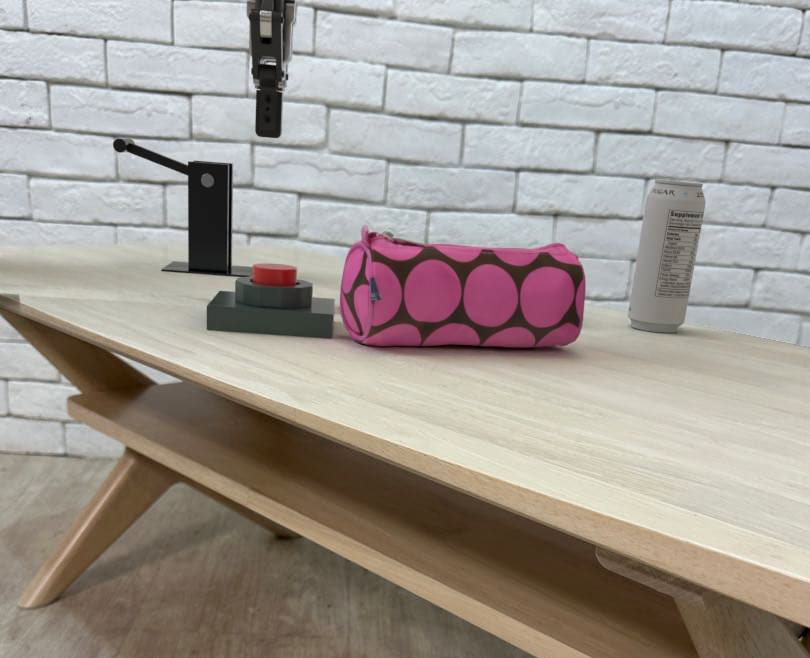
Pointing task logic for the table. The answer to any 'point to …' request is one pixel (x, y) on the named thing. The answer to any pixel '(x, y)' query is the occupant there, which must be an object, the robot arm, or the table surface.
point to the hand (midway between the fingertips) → (268, 137)
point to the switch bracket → (210, 222)
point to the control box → (272, 310)
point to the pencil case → (460, 294)
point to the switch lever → (148, 155)
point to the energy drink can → (666, 255)
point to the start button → (274, 274)
